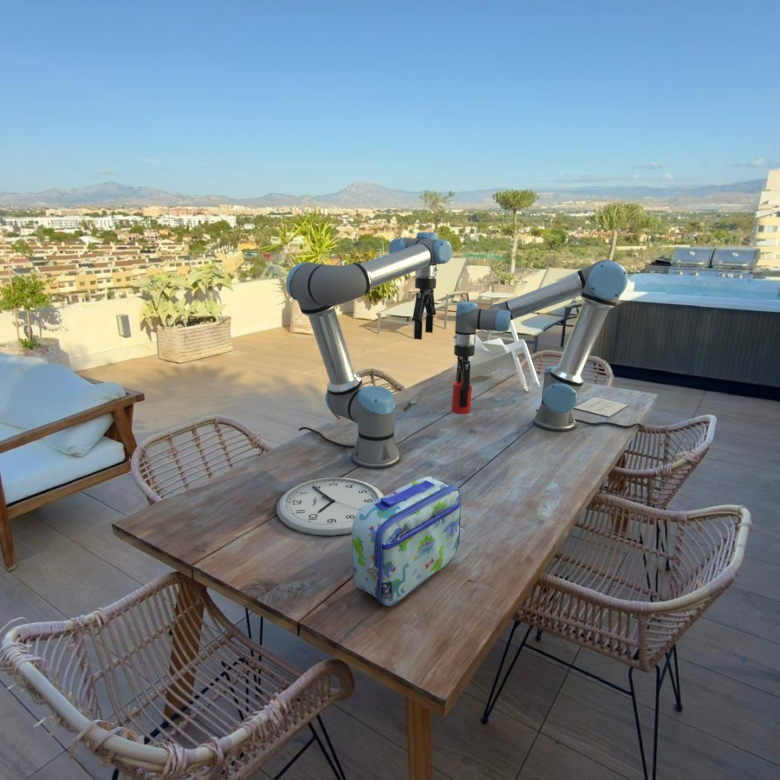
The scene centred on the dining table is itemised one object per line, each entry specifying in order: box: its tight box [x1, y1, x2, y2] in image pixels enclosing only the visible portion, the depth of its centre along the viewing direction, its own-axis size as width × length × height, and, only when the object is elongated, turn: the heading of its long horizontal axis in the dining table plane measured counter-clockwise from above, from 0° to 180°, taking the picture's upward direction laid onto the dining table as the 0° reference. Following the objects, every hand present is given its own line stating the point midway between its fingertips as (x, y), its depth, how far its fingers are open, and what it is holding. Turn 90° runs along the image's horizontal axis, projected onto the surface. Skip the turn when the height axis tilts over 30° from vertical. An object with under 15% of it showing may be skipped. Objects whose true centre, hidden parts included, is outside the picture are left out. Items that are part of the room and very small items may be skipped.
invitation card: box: [573, 396, 629, 418], centre depth 226 cm, size 21×1×15 cm
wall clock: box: [276, 476, 385, 537], centre depth 142 cm, size 30×2×30 cm
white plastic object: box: [452, 319, 541, 392], centre depth 256 cm, size 37×45×31 cm
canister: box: [451, 381, 473, 415], centre depth 199 cm, size 7×7×11 cm
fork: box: [403, 395, 419, 411], centre depth 222 cm, size 3×16×2 cm, turn 160°
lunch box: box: [351, 476, 462, 607], centre depth 111 cm, size 26×11×21 cm, turn 135°
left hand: (423, 335), depth 193 cm, fingers open, 13 cm apart
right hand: (461, 403), depth 200 cm, fingers closed on canister, 7 cm apart
